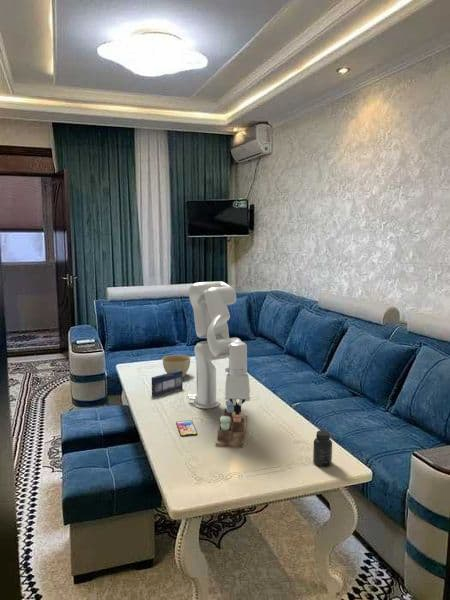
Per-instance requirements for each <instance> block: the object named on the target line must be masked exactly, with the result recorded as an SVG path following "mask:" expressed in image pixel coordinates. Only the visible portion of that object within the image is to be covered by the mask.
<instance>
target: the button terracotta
mask: <svg viewBox="0 0 450 600" xmlns="http://www.w3.org/2000/svg"><path fill="white" fill-rule="evenodd" d="M232 416H233V422H241V417H242V416H243V412H242V411H241V412H240V413H239V415H238V414H237V415H236V414H235V412H233V413H232Z"/></svg>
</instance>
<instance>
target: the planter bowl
mask: <svg viewBox="0 0 450 600" xmlns="http://www.w3.org/2000/svg"><path fill="white" fill-rule="evenodd" d="M162 366H163V369H164V372H166V373H165V374H167V373H171V372H175V371H179V370H181V371H182V373H183V375H182V376H183V378H184V377H186V374H187V373H188V371H189V369H190V366H191V357H190V356H189V355H185V354H183V355H182V354H171V355H166V356H164V357H162Z"/></svg>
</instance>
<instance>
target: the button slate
mask: <svg viewBox="0 0 450 600" xmlns="http://www.w3.org/2000/svg"><path fill="white" fill-rule="evenodd" d="M225 406H226V408H225V409H226V413H233V412H234V405H233V403H232V402H231V401H229V400H226V401H225Z"/></svg>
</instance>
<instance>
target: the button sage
mask: <svg viewBox="0 0 450 600" xmlns="http://www.w3.org/2000/svg"><path fill="white" fill-rule="evenodd" d="M230 419H231V418H230V417H229V416H223V415H222V416H220V417H219V421H220V425H221V430H223V431H229V422H230Z"/></svg>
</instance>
